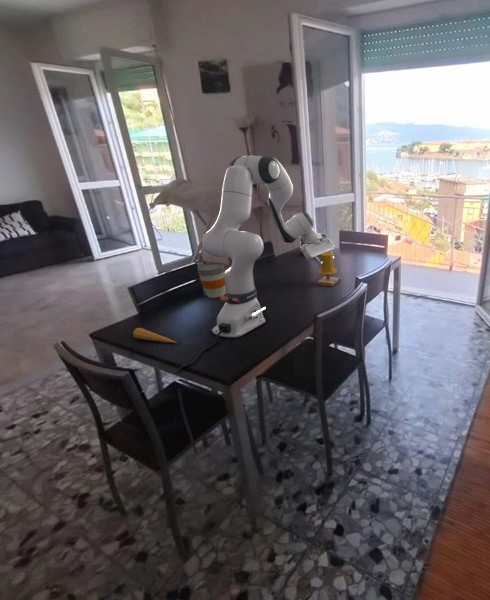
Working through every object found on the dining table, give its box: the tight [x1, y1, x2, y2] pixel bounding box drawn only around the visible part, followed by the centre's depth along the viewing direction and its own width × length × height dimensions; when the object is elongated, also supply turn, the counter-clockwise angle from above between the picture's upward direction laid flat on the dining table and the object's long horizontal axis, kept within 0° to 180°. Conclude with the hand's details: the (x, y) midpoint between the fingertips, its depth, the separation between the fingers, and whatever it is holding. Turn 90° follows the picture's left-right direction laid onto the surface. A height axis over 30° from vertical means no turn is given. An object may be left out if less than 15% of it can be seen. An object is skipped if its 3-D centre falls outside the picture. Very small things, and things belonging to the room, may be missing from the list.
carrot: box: [132, 327, 178, 344], centre depth 139 cm, size 20×4×4 cm, turn 74°
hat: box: [317, 252, 338, 276], centre depth 187 cm, size 10×10×10 cm
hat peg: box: [316, 274, 340, 287], centre depth 189 cm, size 9×9×16 cm
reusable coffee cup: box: [197, 261, 227, 299], centre depth 177 cm, size 13×13×15 cm
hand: (327, 261), depth 187 cm, fingers open, 8 cm apart
